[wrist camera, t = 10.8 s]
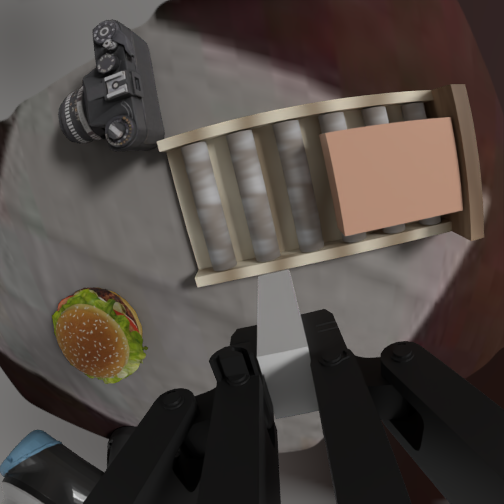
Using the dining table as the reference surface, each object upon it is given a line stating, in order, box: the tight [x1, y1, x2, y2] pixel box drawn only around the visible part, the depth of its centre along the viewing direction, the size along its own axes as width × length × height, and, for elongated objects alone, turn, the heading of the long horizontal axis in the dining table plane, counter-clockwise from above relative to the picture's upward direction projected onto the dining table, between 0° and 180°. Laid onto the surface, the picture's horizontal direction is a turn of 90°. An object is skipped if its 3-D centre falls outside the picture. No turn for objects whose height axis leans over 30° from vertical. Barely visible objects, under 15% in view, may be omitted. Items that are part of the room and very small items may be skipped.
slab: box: [319, 117, 463, 236], centre depth 30 cm, size 14×10×4 cm
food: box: [52, 288, 148, 384], centre depth 39 cm, size 14×14×8 cm
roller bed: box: [157, 84, 484, 287], centre depth 32 cm, size 33×17×8 cm, turn 103°
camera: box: [58, 20, 165, 151], centre depth 29 cm, size 14×11×10 cm
